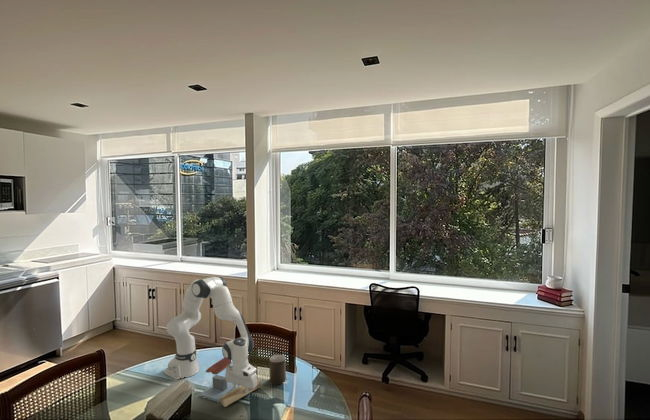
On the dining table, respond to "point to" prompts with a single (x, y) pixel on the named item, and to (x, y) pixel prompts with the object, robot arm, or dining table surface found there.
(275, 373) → the pillar candle
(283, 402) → the dining table surface
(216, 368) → the wooden tablet
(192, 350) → the robot arm
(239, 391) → the oak rod
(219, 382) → the ridge stand
